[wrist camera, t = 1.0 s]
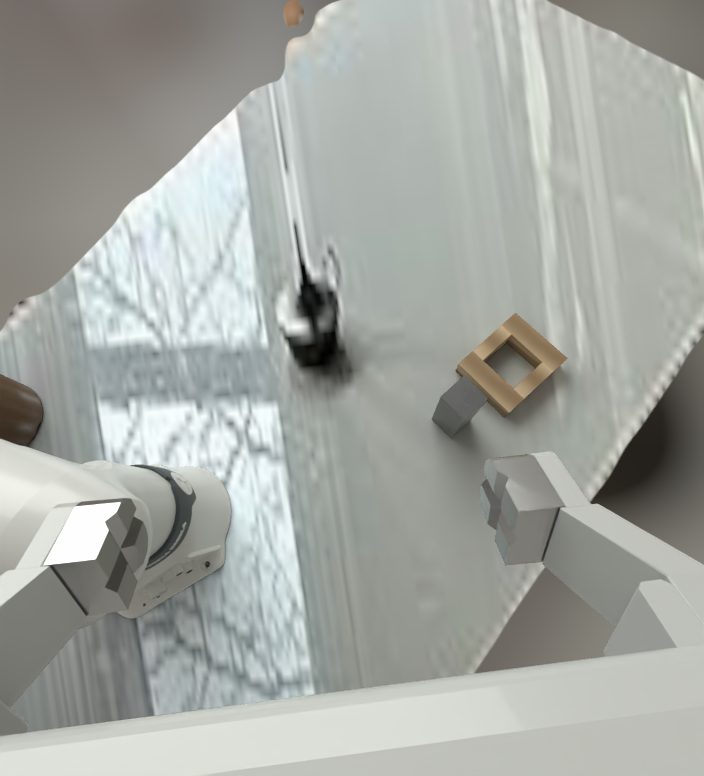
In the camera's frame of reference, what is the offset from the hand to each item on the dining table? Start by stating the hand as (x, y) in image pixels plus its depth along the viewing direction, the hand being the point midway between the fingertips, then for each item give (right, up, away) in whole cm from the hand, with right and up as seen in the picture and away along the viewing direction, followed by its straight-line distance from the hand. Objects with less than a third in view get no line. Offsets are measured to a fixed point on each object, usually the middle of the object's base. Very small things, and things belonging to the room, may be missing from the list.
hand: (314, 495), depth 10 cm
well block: (+25, +6, +57) cm, 63 cm away
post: (+16, -2, +56) cm, 58 cm away
